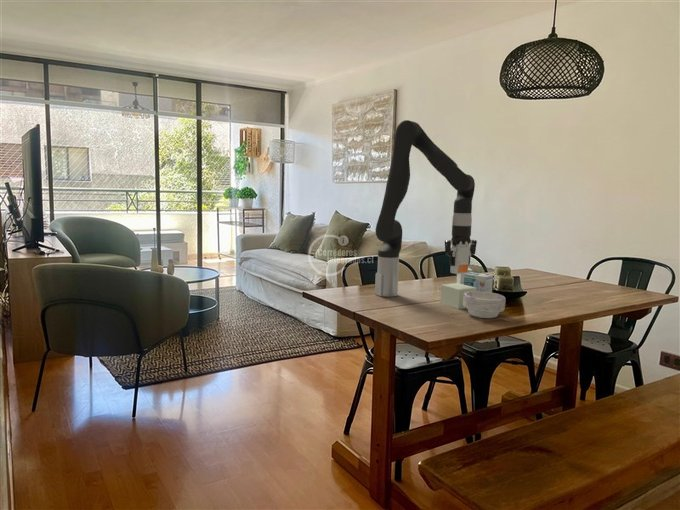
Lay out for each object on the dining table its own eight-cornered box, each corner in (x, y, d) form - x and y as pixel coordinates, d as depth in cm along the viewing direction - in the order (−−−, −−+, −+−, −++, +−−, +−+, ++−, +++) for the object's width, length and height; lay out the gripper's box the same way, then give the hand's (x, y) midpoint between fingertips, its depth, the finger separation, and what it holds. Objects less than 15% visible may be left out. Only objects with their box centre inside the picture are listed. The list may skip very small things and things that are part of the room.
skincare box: (457, 274, 197) (458, 244, 195) (450, 272, 200) (451, 243, 199) (468, 273, 199) (470, 244, 198) (461, 271, 203) (463, 243, 202)
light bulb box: (462, 297, 217) (463, 273, 215) (469, 295, 222) (471, 271, 220) (484, 301, 210) (486, 276, 208) (492, 299, 215) (493, 274, 213)
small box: (471, 292, 228) (473, 270, 226) (459, 292, 228) (460, 269, 227) (467, 289, 236) (468, 267, 234) (455, 288, 236) (457, 267, 235)
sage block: (458, 309, 195) (459, 289, 194) (440, 303, 204) (441, 284, 203) (475, 307, 199) (476, 287, 198) (456, 301, 209) (457, 283, 208)
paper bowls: (512, 320, 180) (513, 298, 179) (474, 321, 177) (475, 299, 176) (491, 310, 195) (492, 290, 194) (455, 311, 192) (456, 291, 191)
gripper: (451, 225, 191) (449, 267, 194) (482, 225, 196) (480, 266, 199) (441, 223, 198) (439, 264, 201) (471, 223, 203) (469, 263, 206)
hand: (459, 265), depth 200 cm, fingers closed on skincare box, 6 cm apart
